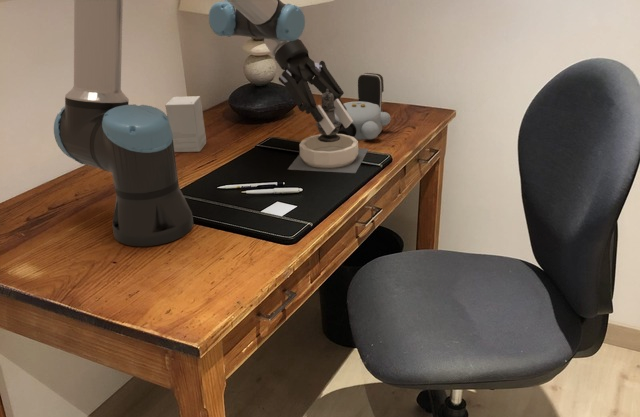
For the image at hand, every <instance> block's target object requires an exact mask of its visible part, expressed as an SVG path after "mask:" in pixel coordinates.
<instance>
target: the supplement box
mask: <svg viewBox="0 0 640 417" xmlns="http://www.w3.org/2000/svg"><path fill="white" fill-rule="evenodd" d="M164 106H165V112H166V115H167V117H168V119H169V123H170V127H171V130H172V133H173V145H174V153H195V152H197V153H200V152H201V151H202V149H203V148H204V147H205V145H206V144H207V137H206V128H205V121H204V114H203V106H202V98H201V95H196V96H193V95H192V96H173V97H171V99H170V100H168V102H167V103H165V105H164Z"/></svg>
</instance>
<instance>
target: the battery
mask: <svg viewBox="0 0 640 417" xmlns="http://www.w3.org/2000/svg"><path fill="white" fill-rule="evenodd" d="M383 92H384V77H383V75H381V74H379V73H374V72H372V73H371V72H364V73H362V74H360V75H359V76H358V78H357V96H358V101H361V102H369V103H373V104H377V105H378V106H379V107H380V110H381V112H383V106H382V105H383V104H382V100H383Z"/></svg>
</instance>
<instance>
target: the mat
mask: <svg viewBox="0 0 640 417" xmlns="http://www.w3.org/2000/svg"><path fill="white" fill-rule="evenodd" d="M368 151H369V148H359V147H358V155H357V157H356V159H355V161H354V162H352V163H351V164H349V165H346V166H343V167H338V168H316V167H312V166H309V165H307V164H305V163H304V161H303V159H302V158H301V157H300V153H299V154H298V155H297V157H296V158H295V159H294V161H292V163H291V164H290V165H289V167H288V168H287V170H291V171H308V172H309V171H311V172H328V173H343V174H344V173H345V174H347V173H348V174H356V173H357V171H358V170H359V167H360V166H361V164H362V162H363V160H364V159H365V157H366V154H367V153H368Z"/></svg>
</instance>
